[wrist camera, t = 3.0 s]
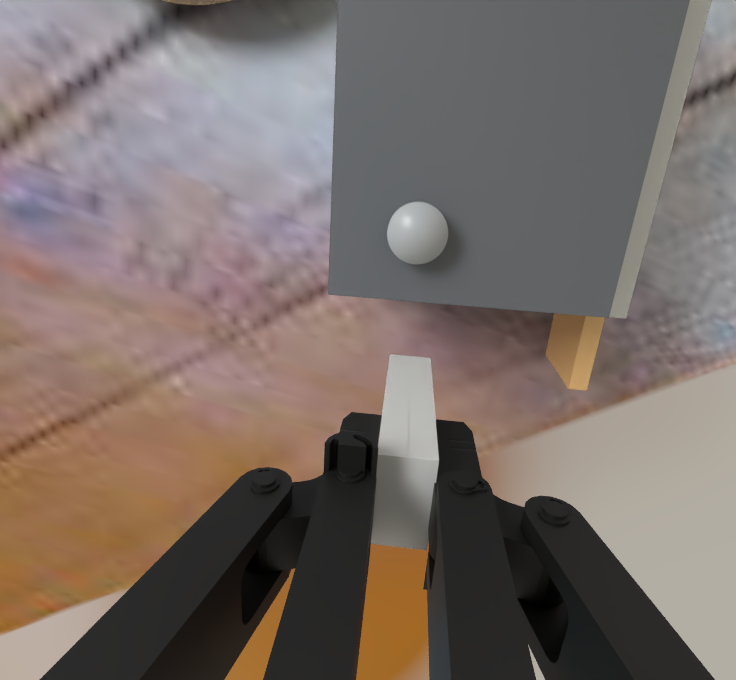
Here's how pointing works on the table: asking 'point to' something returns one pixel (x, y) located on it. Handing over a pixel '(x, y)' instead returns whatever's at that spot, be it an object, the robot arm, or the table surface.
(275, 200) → the table surface
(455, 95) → the grey box with knob
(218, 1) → the saucer
